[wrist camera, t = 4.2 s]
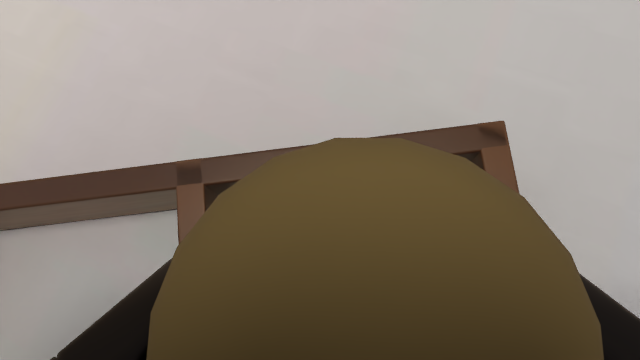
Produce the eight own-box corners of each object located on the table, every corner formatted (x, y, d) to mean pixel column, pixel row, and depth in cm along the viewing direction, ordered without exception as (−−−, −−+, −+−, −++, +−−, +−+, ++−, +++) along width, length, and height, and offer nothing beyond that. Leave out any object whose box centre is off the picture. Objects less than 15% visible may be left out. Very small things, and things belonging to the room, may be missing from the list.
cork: (312, 443, 14) (187, 970, 3) (233, 261, 15) (-39, 217, 5) (489, 353, 14) (911, 576, 4) (397, 180, 16) (498, -39, 5)
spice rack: (533, 450, 14) (583, 496, 11) (-45, 506, 14) (-146, 564, 11) (476, 149, 16) (504, 119, 13) (-29, 211, 16) (-112, 196, 13)
